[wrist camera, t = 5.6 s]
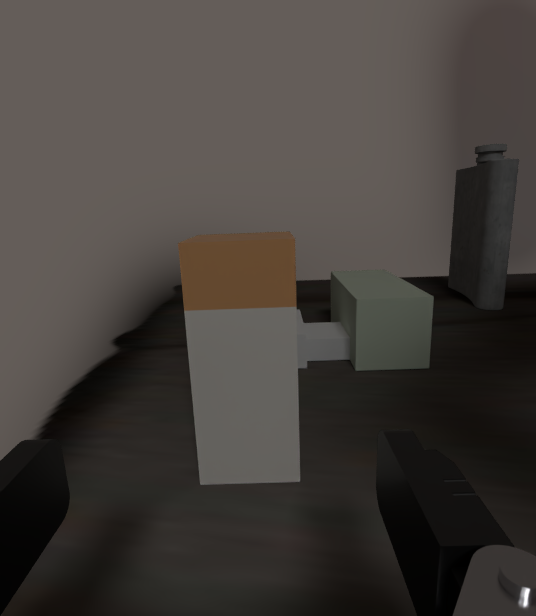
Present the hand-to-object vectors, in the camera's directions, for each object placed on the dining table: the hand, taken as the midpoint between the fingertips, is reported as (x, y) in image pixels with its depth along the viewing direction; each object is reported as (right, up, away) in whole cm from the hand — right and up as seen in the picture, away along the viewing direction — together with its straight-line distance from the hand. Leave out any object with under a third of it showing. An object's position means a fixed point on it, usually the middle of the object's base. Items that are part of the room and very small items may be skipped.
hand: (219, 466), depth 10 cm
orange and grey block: (0, -4, +12) cm, 13 cm away
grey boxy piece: (+5, 0, +30) cm, 30 cm away
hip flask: (+31, +5, +47) cm, 56 cm away
